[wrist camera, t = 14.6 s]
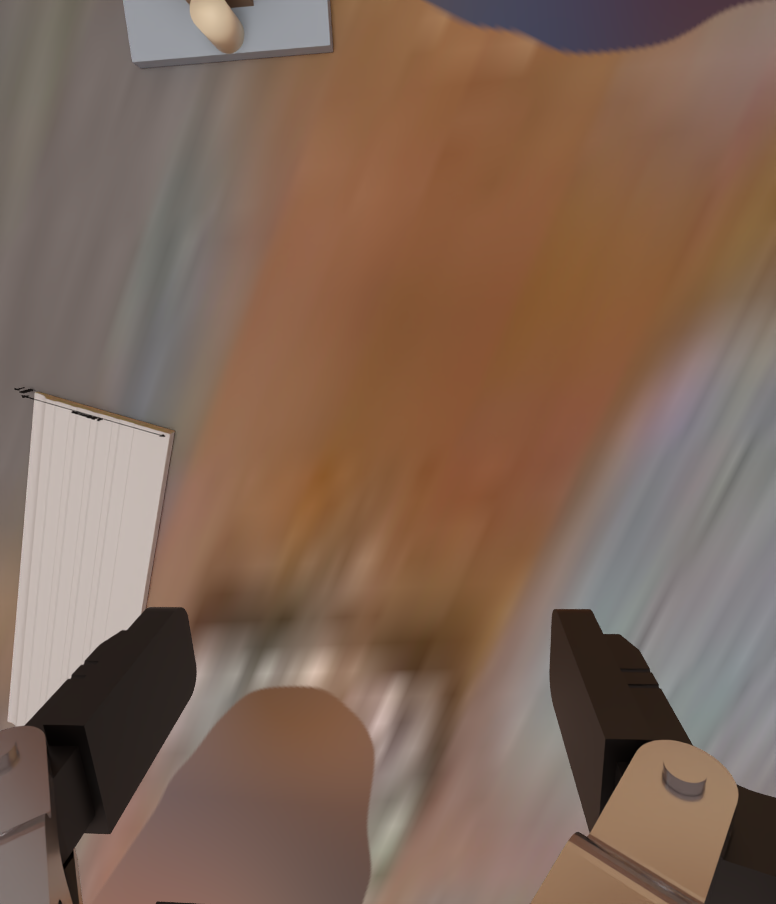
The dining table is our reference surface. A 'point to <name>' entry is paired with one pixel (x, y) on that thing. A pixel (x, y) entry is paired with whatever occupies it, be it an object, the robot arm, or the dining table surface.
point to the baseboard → (82, 540)
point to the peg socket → (225, 30)
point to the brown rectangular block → (235, 3)
